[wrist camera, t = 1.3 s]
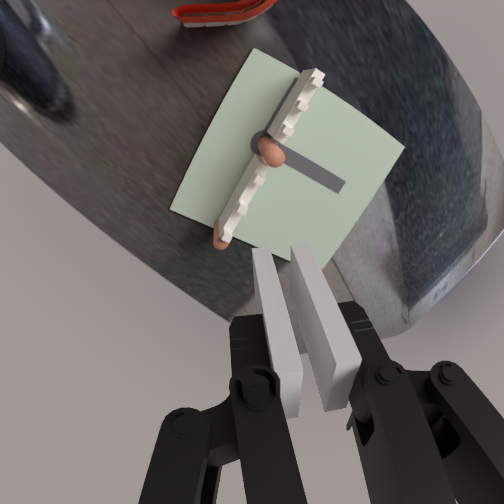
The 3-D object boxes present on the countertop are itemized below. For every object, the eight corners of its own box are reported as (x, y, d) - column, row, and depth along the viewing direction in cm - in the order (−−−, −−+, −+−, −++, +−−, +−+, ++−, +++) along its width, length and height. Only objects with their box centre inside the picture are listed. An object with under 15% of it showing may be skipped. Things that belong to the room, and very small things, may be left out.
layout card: (170, 208, 39) (169, 209, 39) (253, 48, 30) (254, 47, 30) (318, 272, 47) (319, 274, 47) (403, 146, 38) (404, 147, 37)
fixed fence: (253, 146, 36) (261, 162, 30) (299, 68, 32) (319, 65, 25) (267, 154, 37) (278, 171, 30) (313, 77, 32) (336, 76, 25)
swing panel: (252, 151, 36) (258, 164, 31) (265, 158, 37) (274, 172, 31) (211, 227, 41) (210, 252, 35) (223, 232, 41) (224, 257, 36)
